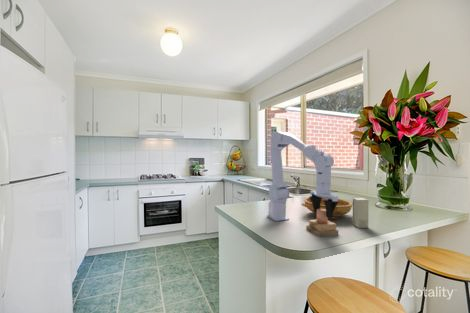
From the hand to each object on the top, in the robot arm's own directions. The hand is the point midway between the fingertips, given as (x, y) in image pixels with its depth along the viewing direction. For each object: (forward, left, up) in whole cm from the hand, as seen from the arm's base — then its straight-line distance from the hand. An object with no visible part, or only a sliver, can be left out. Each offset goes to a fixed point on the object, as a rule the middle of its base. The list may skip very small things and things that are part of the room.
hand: (322, 214), depth 94 cm
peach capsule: (0, 0, -3) cm, 3 cm away
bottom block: (0, 0, -8) cm, 8 cm away
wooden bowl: (-20, +20, -8) cm, 29 cm away
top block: (0, 0, -6) cm, 6 cm away
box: (-1, +22, -8) cm, 23 cm away
